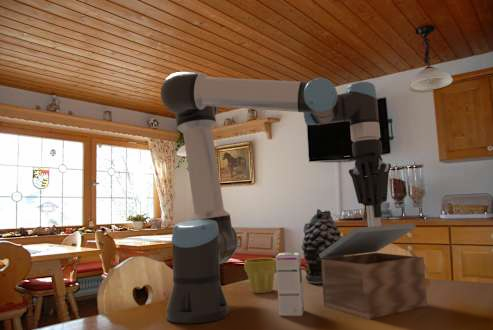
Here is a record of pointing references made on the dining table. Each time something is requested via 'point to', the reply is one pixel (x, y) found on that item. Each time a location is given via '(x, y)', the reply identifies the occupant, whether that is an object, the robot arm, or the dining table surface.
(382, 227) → the crate lid
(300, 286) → the syrup box
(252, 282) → the plant pot
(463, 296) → the dining table surface
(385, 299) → the walnut crate
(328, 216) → the dark pine cone
